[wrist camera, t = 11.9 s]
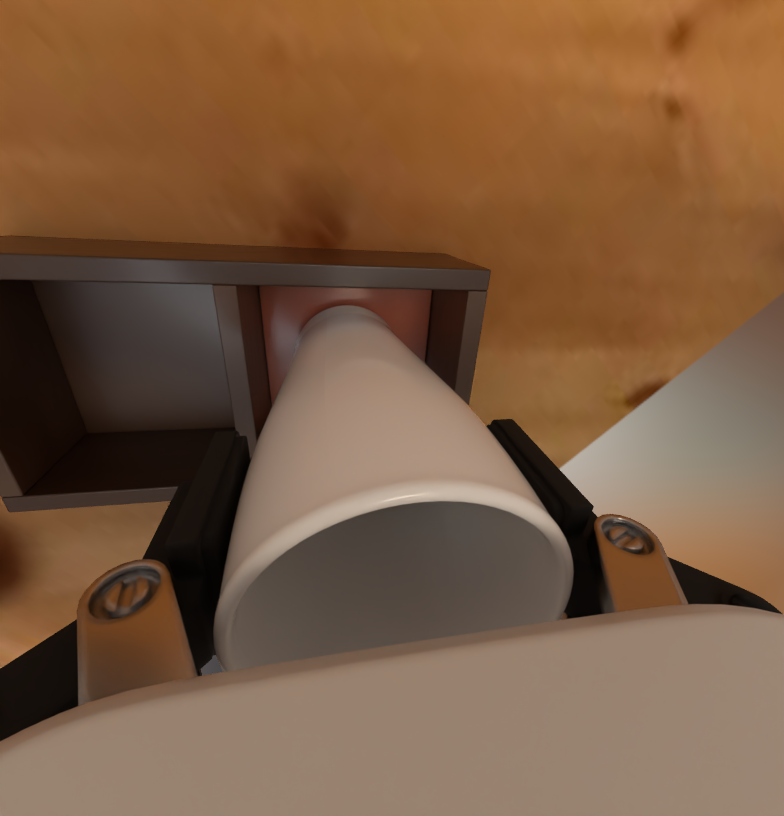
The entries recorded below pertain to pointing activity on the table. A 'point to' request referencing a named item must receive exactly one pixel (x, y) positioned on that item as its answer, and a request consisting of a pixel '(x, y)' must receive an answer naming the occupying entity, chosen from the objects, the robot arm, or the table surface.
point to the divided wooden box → (185, 351)
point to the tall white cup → (379, 511)
